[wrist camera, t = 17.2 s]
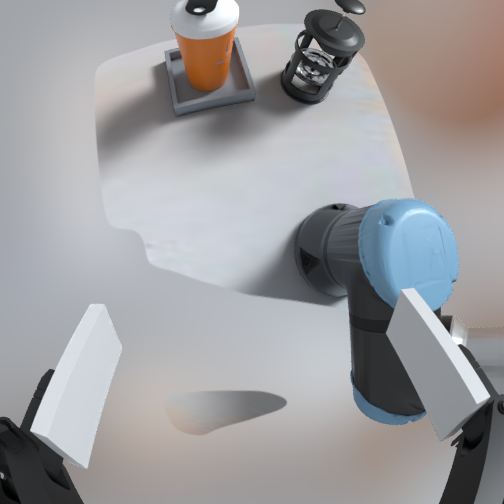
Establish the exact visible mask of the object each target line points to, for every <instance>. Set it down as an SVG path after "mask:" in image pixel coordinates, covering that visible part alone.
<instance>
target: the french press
mask: <svg viewBox="0 0 504 504" xmlns="http://www.w3.org/2000/svg"><path fill="white" fill-rule="evenodd" d="M335 2H336V3H337V5H338V6H340V7H341V8H342V9H343V11H344V13H343V14H340V13H337V12H334V11H330V10H314V11H311V12H310V13H308V14H307V15H306V17H305V20H304V24H305V28H306V30H303V31H302V32H300V34H299V35H298V37H297V39H296V42H295V50H296V51H295V52H294V53H293V55H292V56H291V60H290V61H289V62H288V63H287V65H286V67H285V69H284V71H283V72H282V75H281V79H280V81H281V85H282V88H283V90H284V91H285V92H286V93H287V95H288V96H290V97H291V98H292V99H294V100H296V101H298V102H301V103H305V104H316V103H319V102H321V101H323V100H324V99H325V98H326V97H327V95H328V94H329V91H330V90H331V88H332V86H333V83H334V81H335V80H336V79H337V77H338V75H340V74H341V73H342V72H343V71H344V70H345V69H346V68H347V67H348V65H349V64H350V62H351V61H352V59H353V57H354V56H355V55H356V53H357V52H358V50H360V49H361V48H362V47H363V45H364V43H365V38H364V35H363V33H362V31H361V29H360V28H359V27H358V26H357V24H355V23H354V22H353V21H352V20H351V19H349V18H348V17H346V16H345V15H346V13H349V12H350V13H353V14H359V15H360V14H364V13H365V7H364V5H363V4H362V3H361V2H360V1H358V0H335ZM303 35H305V36H304V38H303V40H302V43H301V45H300V47H299V45H298V39H299V38H300V37H301V36H303ZM313 38H314V39H315V40H316V41H317V43H318V44H319V46H320V47H321V48H322V51H319V50H317V49H312V48H308V47H309V45H310V43H311V41H312V39H313ZM324 52H326V53H327V54H329V55H333V56H335V57H334V59H332V58H331V57H330V56H328V55H327V54H326V53H324ZM294 74H296V76H298V77H299V78H300V79H301V80H303V81H305V82H307V83H309V84H312V85H316V86H321V88H320V89H319V91H318V92H317V94H310V93H306V92H304V91H301V90H300V89H298V88H297V87H295V86H294V85H293V84H292V83H291V81H292V79H293V77H294Z"/></svg>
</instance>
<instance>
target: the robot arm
mask: <svg viewBox="0 0 504 504" xmlns="http://www.w3.org/2000/svg"><path fill="white" fill-rule="evenodd" d="M295 259H296V263H297V267H298V269H299V271H300V273H301V275H302V277H303V278H304V279H305V281H306V282H307V283H308V284H309V285H310V286H312V287H313V288H314V289H316V290H318V291H320V292H322V293H324V294H327V295H330V296H337V297H342V296H347V297H348V308H349V318H350V320H349V321H350V339H351V363H352V370H351V382H352V385H353V395H354V400H355V402H356V404H357V406H358V408H359V409H360V410H361V412H362V413H364V414H365V415H366V416H368V417H369V418H371V419H373V420H375V421H378V422H380V423H384V424H389V425H403V424H407V423H408V421H409V420H411V421H412V422H415V421H417V420H419V419H421V418H422V417H424V416H425V415H426V414H428V416H429V418H430V420H431V423H432V425H433V427H434V429H435V431H436V434H437V436H438V438H439V441H443V440H445V439H447V438H449V437H451V436H453V435H454V434H455V433H456V432H457V431H458V430H459V429H460V428H462V430H463V432H462V433H461V434H460V435H459V436H458V437H457V438H456V439H455V440H454V441H453V442H452V444H451V446H453V445H455V444H456V443H457V442H458V441H459V442H458V444H457V445H456V446H455V447H457V450H456V454H455V458H454V462H453V465H452V469H451V472H450V475H449V478H448V481H447V484H446V487H445V489H444V492H443V495H442V498H441V500H440V502H439V504H504V326H502V327H484V328H483V327H480V328H468V327H466V326H464V324H463V323H462V322H461V321H460V320H459V319H458V318H457V316H441V306H442V305H443V304H444V303H445V302H446V301H447V300H448V298H449V296H450V295H451V293H452V291H453V287H452V283H453V282H455V281H456V280H457V276H458V268H459V256H458V248H457V244H456V240H455V237H454V234H453V233H452V230H451V228H450V226H449V224H448V223H447V221H446V220H445V219H444V217H443V216H442V215H440V214H439V213H438V212H437V211H436V209H435V208H434V207H432V206H431V205H429V204H427V203H425V202H423V201H420V200H417V199H409V198H408V199H399V200H398V199H388V200H383V201H380V202H379V203H377V204H375V205H372V206H368V207H364V208H357V207H355V206H352V205H349V204H341V203H338V204H331V205H327V206H324V207H322V208H319V209H317V210H316V211H314V212H313V213H312V214H310V215H309V216H308V217H307V218H306V219H305V221H304V222H303V224H302V225H301V227H300V229H299V231H298V234H297V237H296V241H295ZM121 351H122V346H121V343H120V341H119V339H118V337H117V334H116V332H115V329H114V327H113V324H112V322H111V320H110V317H109V314H108V312H107V309H106V306H105V305H104V304H90V306H89V307H88V309H87V311H86V313H85V314H84V316H83V318H82V320H81V322H80V323H79V325H78V327H77V329H76V331H75V332H74V334H73V336H72V338H71V340H70V342H69V344H68V346H67V348H66V350H65V352H64V354H63V356H62V358H61V360H60V362H59V364H58V366H57V368H56V370H52V369H49V370H48V371H47V372H46V373H45V375H44V376H43V377H42V378H41V380H40V382H39V384H38V386H37V390H36V391H35V393H34V395H33V396H34V398H32V400H31V402H30V404H29V407H28V409H27V412H26V414H25V417H24V419H23V422H22V424H21V426H20V428H18V427H17V426H16V425H15V424H14V423H13V422H12V421H11V420H10V419H9V418H7V417H0V472H1V473H3V474H4V479H2V478H1V475H0V504H84V503H83V501H82V500H81V498H80V496H79V494H78V492H77V490H76V488H75V486H74V484H73V483H72V480H71V478H70V476H69V474H68V472H67V470H66V468H65V467H64V465H63V464H62V462H63V459H65V460H66V461H68V462H69V463H70V464H72V465H75V466H78V467H82V468H85V469H88V464H89V460H90V456H91V451H92V447H93V443H94V439H95V435H96V432H97V427H98V424H99V420H100V417H101V413H102V410H103V406H104V403H105V400H106V397H107V393H108V390H109V387H110V384H111V381H112V377H113V374H114V371H115V369H116V366H117V363H118V360H119V357H120V354H121Z"/></svg>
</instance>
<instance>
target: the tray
mask: <svg viewBox="0 0 504 504" xmlns="http://www.w3.org/2000/svg"><path fill="white" fill-rule="evenodd" d="M164 52H165V58H166V65H167V71H168V77H169V84H170V89H171V95H172V101H173V107H174V111H175V113H176V116H180V115H184V114H188V113H193V112H197V111H201V110H206V109H210V108H215V107H220V106H225V105H230V104H236V103H241V102H247V101H254V99H255V94H256V90H255V87H254V84H253V81H252V78H251V75H250V72H249V69H248V66H247V63H246V60H245V57H244V54H243V51H242V48H241V45H240V42H239V39H238V37H236V38H234V39H233V46H232V52H231V58H230V65H229V72H228V78H227V81H226V82H225V84H224V85H223V86H222V87H220V88H219V89H217V90H214V91H209V92H204V91H199V90H196V89H194V88H193V87H192V86H191V85H190V84H189V81H188V78H187V74H186V71H185V67H184V63H183V60H182V56H181V53H180V49H179V48H176V49H172V50H168V51H164Z"/></svg>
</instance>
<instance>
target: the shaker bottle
mask: <svg viewBox="0 0 504 504" xmlns="http://www.w3.org/2000/svg"><path fill="white" fill-rule="evenodd" d="M170 20H171V27H172V29H173V30H174V31H175V34H176V38H177V42H178V45H179V49H180V53H181V56H182V60H183V63H184V67H185V71H186V74H187V78H188V81H189V84H190V85H191V86H192V87H193V88H194V89H196V90H199V91H204V92H209V91H214V90H217V89H219V88H220V87H222V86H223V85H224V84H225V82H226V81H227V78H228V72H229V65H230V58H231V52H232V46H233V39H234V34H235V28H236V25H237V23H238V21H239V7H238V5H237V4H236V2H235V1H233V0H180V1H179V2H178V3H177V4H176V5H175V6H174V7H173V9H172V11H171V13H170Z"/></svg>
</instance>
